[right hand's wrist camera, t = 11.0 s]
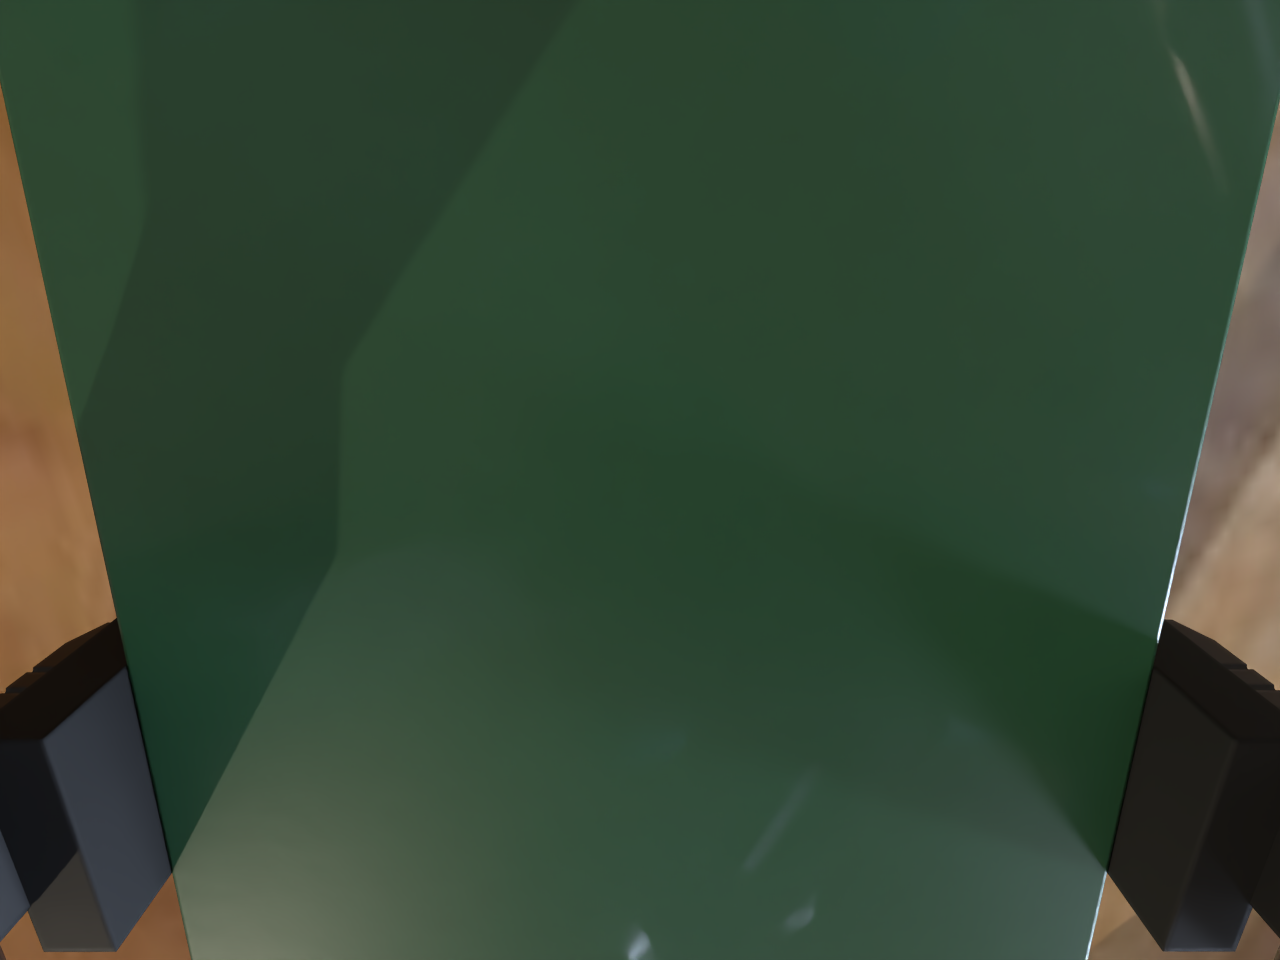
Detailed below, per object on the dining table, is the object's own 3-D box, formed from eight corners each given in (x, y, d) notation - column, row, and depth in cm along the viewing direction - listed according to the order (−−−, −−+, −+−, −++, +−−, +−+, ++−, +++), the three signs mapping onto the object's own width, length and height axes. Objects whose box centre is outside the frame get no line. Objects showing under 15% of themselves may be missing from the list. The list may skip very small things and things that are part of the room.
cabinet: (385, -162, 15) (-312, -1329, 4) (899, -161, 15) (1605, -1332, 4) (443, 575, 20) (189, 968, 9) (837, 576, 20) (1087, 971, 9)
